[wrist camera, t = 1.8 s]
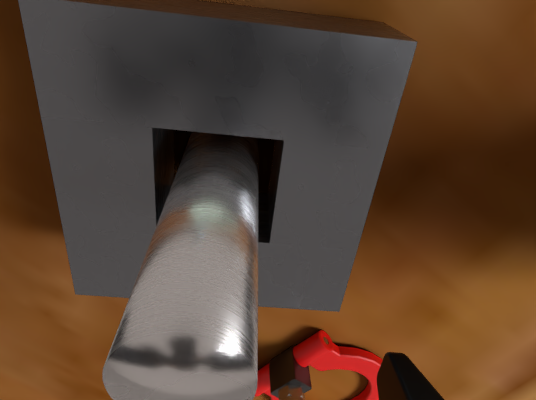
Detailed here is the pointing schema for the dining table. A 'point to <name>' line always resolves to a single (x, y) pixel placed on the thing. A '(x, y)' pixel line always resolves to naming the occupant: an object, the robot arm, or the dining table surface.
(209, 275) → the pin
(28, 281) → the dining table surface
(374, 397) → the tow hook
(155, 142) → the hitch block
